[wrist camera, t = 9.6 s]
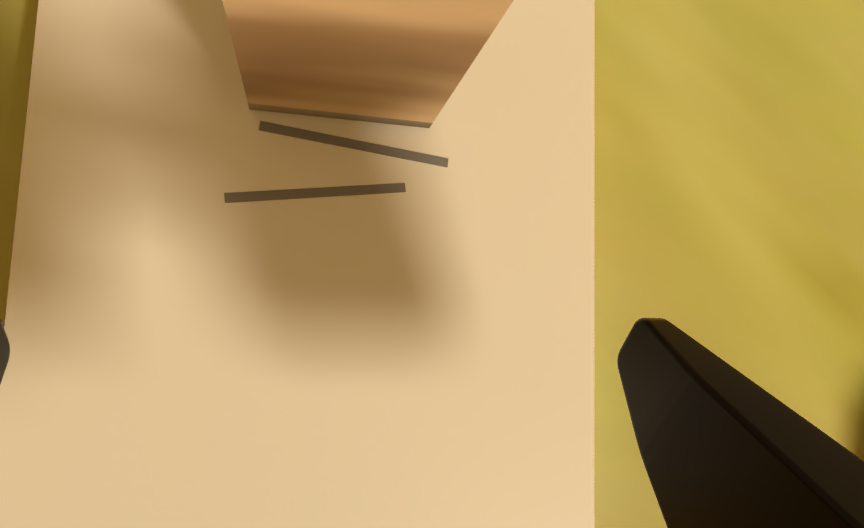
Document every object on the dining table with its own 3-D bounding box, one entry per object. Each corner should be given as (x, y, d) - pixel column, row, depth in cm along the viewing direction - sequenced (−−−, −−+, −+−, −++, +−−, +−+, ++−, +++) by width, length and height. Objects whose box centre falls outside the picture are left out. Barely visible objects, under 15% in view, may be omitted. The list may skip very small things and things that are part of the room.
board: (576, 539, 16) (594, 554, 15) (1, 574, 13) (-24, 595, 12) (578, -185, 18) (594, -215, 17) (90, -305, 15) (75, -349, 14)
